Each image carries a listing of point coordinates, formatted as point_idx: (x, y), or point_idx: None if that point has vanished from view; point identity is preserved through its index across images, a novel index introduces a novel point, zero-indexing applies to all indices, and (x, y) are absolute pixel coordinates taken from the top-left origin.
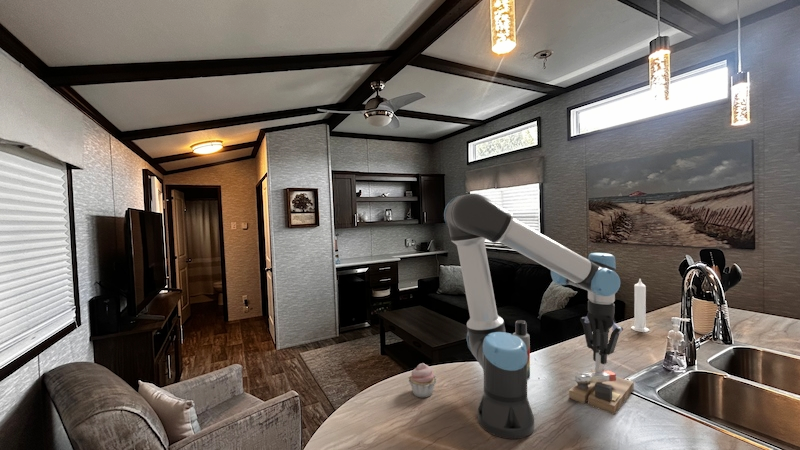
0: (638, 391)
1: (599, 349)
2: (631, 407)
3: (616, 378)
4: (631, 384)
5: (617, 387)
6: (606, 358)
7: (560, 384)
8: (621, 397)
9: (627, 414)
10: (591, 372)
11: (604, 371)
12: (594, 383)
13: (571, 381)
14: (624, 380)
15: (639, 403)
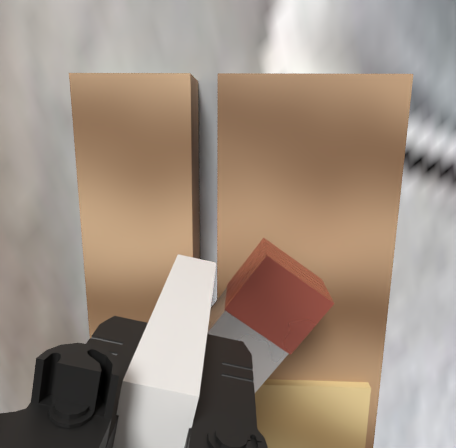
0: (421, 90)
1: (105, 445)
2: (412, 349)
3: (283, 109)
4: (405, 145)
5: (327, 273)
6: (251, 395)
7: (6, 352)
8: (378, 396)
9: (404, 434)
10: (91, 138)
11: (232, 310)
12: None
13: (31, 265)
14: (345, 103)
15: (445, 269)
